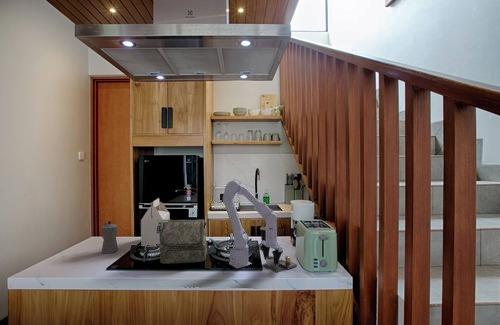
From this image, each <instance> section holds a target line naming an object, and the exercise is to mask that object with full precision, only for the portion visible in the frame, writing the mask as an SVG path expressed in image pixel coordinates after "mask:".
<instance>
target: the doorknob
mask: <svg viewBox="0 0 500 325" xmlns="http://www.w3.org/2000/svg"><path fill="white" fill-rule="evenodd" d="M284 258H285V260H284V262H281V263H279V266H281V267H283V268H286V269H287V270H290V269H293V268H295V267H297V266H298V263H296V262H293V261H291V256H289V255H286V256H285V257H284Z"/></svg>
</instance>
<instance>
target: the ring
mask: <svg viewBox="0 0 500 325" xmlns="http://www.w3.org/2000/svg"><path fill="white" fill-rule="evenodd" d="M265 265H266V266H268V267H275V266H277V264H276V265H275V264H274V256H273V255H269V256H268V257H266V260H265Z"/></svg>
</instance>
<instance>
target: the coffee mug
mask: <svg viewBox="0 0 500 325" xmlns="http://www.w3.org/2000/svg"><path fill="white" fill-rule="evenodd" d="M259 229H260V230H259V231H260V238H261V241H266V226H261V227H260V228H259Z"/></svg>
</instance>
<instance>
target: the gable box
mask: <svg viewBox="0 0 500 325" xmlns="http://www.w3.org/2000/svg"><path fill="white" fill-rule="evenodd" d="M164 219H165V220H171V219H170V212H169V211H168V208H167V207H166V206H165V204H164V203H163V202H162V201H160V198H159V197H157V198H156V199H155V200H152V202H150V207H149V208H147V211H146V212H145V213H144V215H143V216H142V218H141V219H140V245H141V246H147V245H156V244H160V233H157V226H160V224H159V222H160V221H161V222H162V221H163V220H164Z"/></svg>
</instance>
